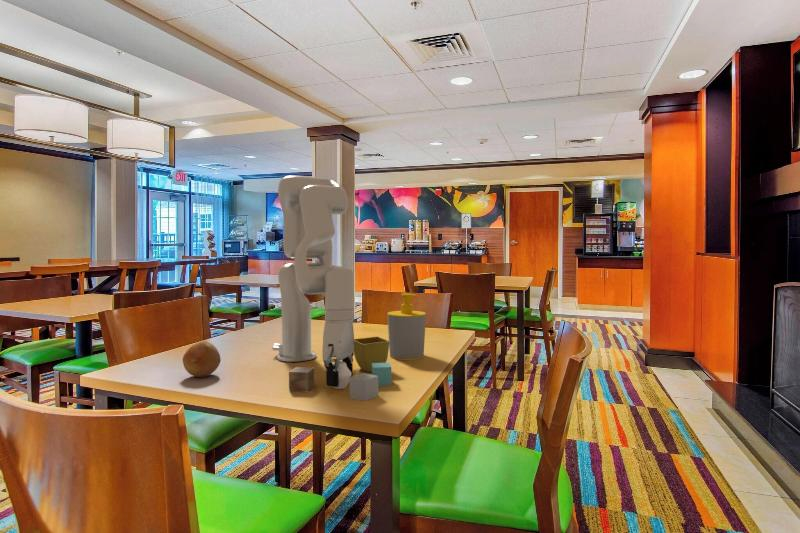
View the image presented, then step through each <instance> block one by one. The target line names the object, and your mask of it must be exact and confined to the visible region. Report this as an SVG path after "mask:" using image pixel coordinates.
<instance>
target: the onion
mask: <svg viewBox="0 0 800 533" xmlns="http://www.w3.org/2000/svg"><path fill="white" fill-rule="evenodd" d="M221 360H222V359H221V355H220V352H219V350H218V348H217V347H216V346H215V345H214V344H213V343H211V342H210V341H209V342H208V341H206V340H200V341H197V342H195V343H193V344H192V345H191V346H190V347H189V348H188V349H187V350H186V351H185V353H184V354H183V356H182V364H183V367H184V369H185V371H186V372H187V373H188V374H189V375H190V376H193V377H197V378H201V379H202V378H206V377H208V376H210V375H211V374H213V373H214V372H216V371H217V369H218V367H219V366H220V364H221Z"/></svg>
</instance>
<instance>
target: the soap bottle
mask: <svg viewBox="0 0 800 533" xmlns="http://www.w3.org/2000/svg"><path fill="white" fill-rule="evenodd" d="M400 296H402V297H403V298H402V299H403V302H402V303H401V304H400V310H393V311H388V312H387V313H386V314H387V315H386V316H387V317H386V318H387V328H388V329H387V330H388V341H389V350H388V352H389V357H390V358H391V359H393V360H398V361H414V360H420V359H423V358H424V355H425V338H426V322H427V321H426V320H427V314H426V312H425V311H420V310H413V304H412V303H411V297H414V298H415V297H416V298H417V297H418V295H417V294H415V293H414V294H413V293H408V292H407V293H401V294H400Z"/></svg>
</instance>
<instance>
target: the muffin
mask: <svg viewBox="0 0 800 533" xmlns="http://www.w3.org/2000/svg"><path fill="white" fill-rule="evenodd" d="M334 364H335V362H333V365H334ZM337 371H339V386H338V387H333V388H334V389H336V390H337V389H338V390H341V389H346V388H347V386H348V384H349V383H350V377H351V371H350V370H349V369H348V367H347V365H346V363H345V362H343V361H342V360H341V361H339V364H338V368H337Z"/></svg>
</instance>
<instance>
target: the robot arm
mask: <svg viewBox="0 0 800 533" xmlns="http://www.w3.org/2000/svg"><path fill="white" fill-rule="evenodd" d="M277 195H278V196H277V197H278V200H279V201H278V202H279V203H280V207H281V210H282V214H283V215H282V216H283V234H282V235H283V253H284V255H285V257H286V258H289V259H293V260H294V261H293V262H290V263H286V264H283V265H282V266H280V268H279V269H278V276H277V277H278V285H279V290H280V300H281V301H280V302H281V343H274V344H273V347H272V351H278V354H277V355H276V357H277V360H278V361H282V362H287V363H288V362H289V363H292V362H293V363H295V362H304V361H305V362H306V361H310V360H313V359H315V358H316V357H317V353H316V352H315V351H312V306H311V303H310V302H311V301H309V298H308V297H306V295H321V294H322V295H324V321H325V323H324V327H323V333H322V334H323V335H322V352H321V353H322V354H321V355H322V361H323V364H324V367H325V368H324V369H325V371H326V372H325V373H326V374H325V375H326V376H325V377H326V382H325V383H326V386H327V387H333V388H334V387H338V386H339V371H337V368H338V364H339V361H342V362H345V363H346V365H347V367H348V369H349V370H350V371H351V377H353V376H354V375H353V372H354V370H353V368H354V367H353V366H354V365H353V362H354V358H353V357H354V356H355V355H354V348H355V345H354V339H355V333H354V321H355V292H354V291H355V280H354V279H355V276H354V271H353V269H351V268H348V267H343V266H339V265H338V266H337V265H334V266H333V241H332V238H333V237H334V236H335V233H336V230H335V228H336V227H335V225H334V224H335V223H334V220H333V215H344V214H345V213H346V212H347V211H348V208H349V197H348V194H347V192H346V190H345V188H344V187H343V186H342V185H341V184H339V183H338V182H337V181H335V180H334V179H332V178H328V177H316V176H307V175H305V176H304V175H286V176H284V177H282V178H281V179H280V180H279V183H278V187H277ZM307 259H308V260H311V259H312V260H315V262H308V261H307ZM334 363H335V364H334ZM333 364H334V365H333Z"/></svg>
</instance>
